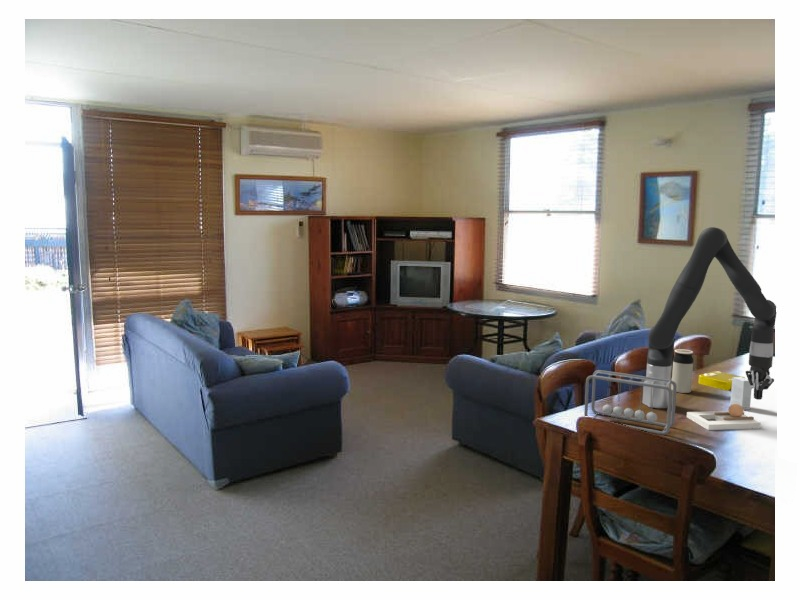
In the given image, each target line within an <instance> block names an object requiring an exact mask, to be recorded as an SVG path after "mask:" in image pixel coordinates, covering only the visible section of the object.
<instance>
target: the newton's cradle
mask: <svg viewBox="0 0 800 600" xmlns="http://www.w3.org/2000/svg"><path fill="white" fill-rule="evenodd" d="M597 374H601V375H597ZM603 375H608V376H603ZM610 376H617V377H620V378H615V377H610ZM622 377H623V378H624V377H625V378H629V379H623V378H622ZM591 379H592V390H591V391H592V392H591V407H590V409H591V411H592V413H593V414H594V415H593V416H592V417H593V418H595V417H596V415H598V414H597V413H599V414H604V415H608V416H607V417H609V416H611V417H610V418H614V419H615V418H616V419H621V420H627V421H631V422H636V423H637V422H639V423H644V424H649V425H653V426H654V425H655V426H659V427H664V429H663V430H661V431H660V430H658V429H652V428H651V429H650V428H645V427H640V426H635V425H628V424H624V423H622V424H623V425H626V426H629V427H633V428H637V429H640V430H644V431H643V432H645V431H647V433H652V434H655V435H656V434H657V435H661V436H662V435H663V436H665V435H667V434H669V432H670V431H671V427H673V426H674V425H675V416H676V401H677V392H676V390H677V385H676V383H675V382H674V381H672V379H671V380H667V379H660V378H653V377H646V375H645V376H643V375H639V374H637V375H636V374H629V373H624V372H623V373H622V372H616V371H608V370H604V369H603V370H601V369H597V370H594V372H593V373H592V375H588V376H587V377H586V379H585V394H584V417H585V416H588V413H589V412H588V411H589V410H588V409H589V392H590V391H589V389H590V380H591ZM633 379H637V380H642V381H635V380H633ZM597 380H602V381H607V382H609V385H611V383H612V382H615V383H617V399H618V401H620V398H621V395H620V391H621V388H622V385H620V388H619V383H620V384H627V385H631V386H630V389H632V386H633V385H634V386H639V387H641V389H643V386H647V387H651V407H650V411H649V412H647V413H645V412H644V411H643V410H641V407H642V403H639V409H637V410H635V411H634V410H633V408H630V406H631V403H628V407H626V408H625V409H623V407H622V406H620V405H617V406H614V407H613V405H611V404H609V403H610V401H609V400H610V399H607V404H604V405H603V406H602V412H601V411H598V410H596V409H595V403H596V402H595V400H596V387H597V386H596V382H597ZM646 380H650V381H657V382H664V383H668V384H669V383H671V384H670V385H673V390H671V387H670V388H669V387H667V386H668V384H667V385H666V386H664V385H657V384H650V383H644V381H646ZM652 387H653V395H654V388H660V389H666V390H668V392H669V396H668V407H667V410H666V411H667V412H666V423H663V422H658V421H657V420H658V414H657V413H655V412H654V410H653V403H652ZM610 394H611V389H608V395H610ZM631 397H632V393H629V399H631ZM640 399H643V393H640ZM595 413H596V414H595ZM604 415H603V416H604ZM588 417H589V416H588ZM645 418H646V419H645ZM640 430H639V431H640Z"/></svg>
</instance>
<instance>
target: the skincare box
mask: <svg viewBox="0 0 800 600" xmlns="http://www.w3.org/2000/svg"><path fill="white" fill-rule="evenodd" d="M743 377H744V376H741V377H733V378H732V390H731V391H730V392H731V393H730V404H729V406H730V405H732V404H739V405H740V406H742V408H743V410H744V411H746V410H750V409H751V398H752V388H753V386H751V385H750V383H749V381H748V378H746V377H745V378H743Z"/></svg>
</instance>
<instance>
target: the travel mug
mask: <svg viewBox="0 0 800 600" xmlns="http://www.w3.org/2000/svg"><path fill="white" fill-rule="evenodd" d="M674 353H675V354H674V356H673V357H672V370H671V380H672V381H674V382H675V383H676V385H677V390H676V393H678V394H689V393H691V392H692V383H693V371H694V369H693V368H694V358H693V353H694V351H692V350H690V349H683V348H679V349H675V350H674ZM670 389H671V390H672V391H673V385H672V384H670Z"/></svg>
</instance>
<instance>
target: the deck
mask: <svg viewBox="0 0 800 600" xmlns="http://www.w3.org/2000/svg"><path fill="white" fill-rule="evenodd" d="M686 418H687V419H689V420H690V421H693V422H694V423H696V424H697V425H699V426H701V427H702V428H704V429H706V430H707V431H716V430H717V431H719V430H720V431H722V430H723V431H724V430H743V429H744V430H745V429H752V428H753V429H760V428H761V422H759V421H757V420H756V419H754V416H748V415H746V414H745V412H743V415H742V416H740V417H733V416H731V415H730V414H729V411H728V410H713V411H711V410H709V411H687V412H686Z"/></svg>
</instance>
